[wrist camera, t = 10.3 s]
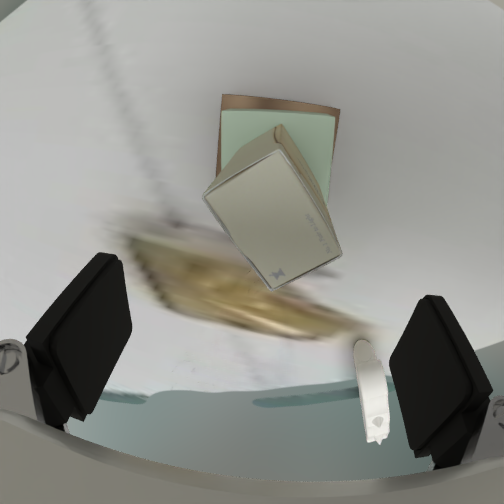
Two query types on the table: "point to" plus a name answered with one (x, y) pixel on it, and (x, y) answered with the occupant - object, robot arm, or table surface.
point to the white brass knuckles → (372, 391)
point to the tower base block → (272, 104)
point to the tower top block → (298, 127)
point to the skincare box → (274, 210)
